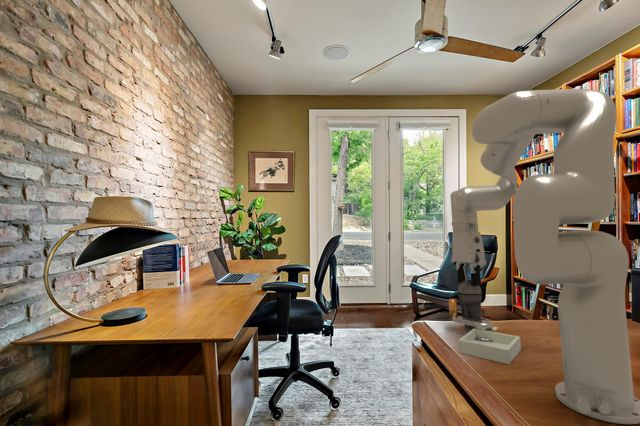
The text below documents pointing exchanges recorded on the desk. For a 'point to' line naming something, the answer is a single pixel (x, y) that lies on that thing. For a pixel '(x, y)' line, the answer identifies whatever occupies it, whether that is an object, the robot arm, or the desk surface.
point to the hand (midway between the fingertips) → (469, 283)
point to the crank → (467, 321)
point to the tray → (490, 345)
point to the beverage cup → (470, 300)
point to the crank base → (482, 338)
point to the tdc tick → (494, 328)
